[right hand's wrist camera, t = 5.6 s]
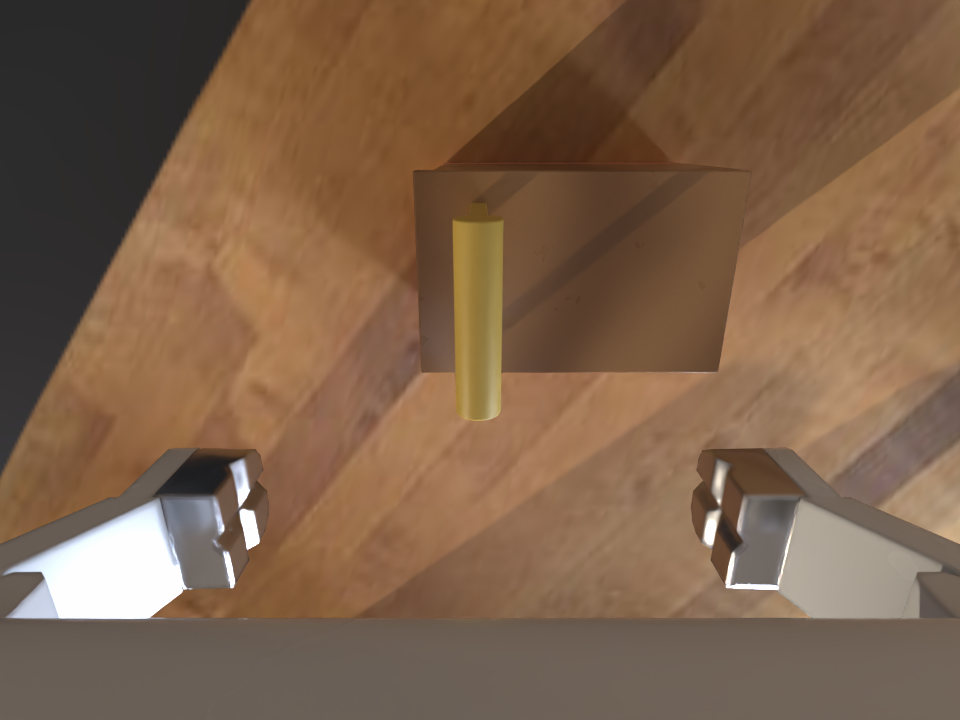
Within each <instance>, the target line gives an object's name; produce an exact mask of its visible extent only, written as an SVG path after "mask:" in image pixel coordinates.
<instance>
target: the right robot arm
mask: <svg viewBox="0 0 960 720" xmlns="http://www.w3.org/2000/svg"><path fill="white" fill-rule="evenodd" d="M262 472H263V466H262V461H261V456H260V454H259V453H258V452H257V450H256V449H221V448H202V449H201V448H174V449H168V450H167V451H166V452H165V453H164V454H163V455H162V456H161V457H160V458H159V459H158V460H157V461H156V462H155V463H154V464H153V465H152V466H151V467H150V468H149V469H148V470H147V471H146V472H145V473H144V474H142V475H141V476H140V477H139V478H138V479H137V480H136V481H135V482H134V483H133V484H132V485H131V486H130V487H129V488H128V489H127V490H126V491H125V492H124V493H123V494H122V495H121V496H120V497H115V498H107V499H105V500H103V501H100V502H98V503H96V504H93V505H91V506H88V507H86V508H84V509H81V510H79V511H77V512H74V513H72V514H70V515H67V516H65V517H63V518H60V519H58V520H56V521H53V522H51V523H49V524H46V525H44V526H42V527H39V528H37V529H35V530H32V531H30V532H28V533H25V534H23V535H21V536H18V537H16V538H14V539H11V540H9V541H7V542H4V543H2V544H0V720H960V544H958V543H956V542H953V541H951V540H949V539H946V538H944V537H942V536H939V535H937V534H934V533H932V532H930V531H927V530H925V529H923V528H920V527H918V526H916V525H913V524H911V523H909V522H906V521H904V520H902V519H899V518H897V517H895V516H892V515H890V514H888V513H885V512H883V511H881V510H878V509H876V508H874V507H871V506H869V505H867V504H864V503H862V502H860V501H857V500H855V499H853V498H845V497H840V496H839V495H838V494H837V493H836V492H835V491H834V490H833V489H832V488H831V487H830V486H829V485H828V484H827V483H826V482H825V481H824V480H823V479H822V478H821V477H820V476H819V475H818V474H817V473H816V472H815V471H814V470H812V469H811V468H810V467H809V466H808V465H807V464H806V463H805V462H804V461H803V460H802V459H801V458H800V457H799V456H798V455H797V454H796V453H795V452H794V451H793V450H791V449H788V448H785V447H784V448H753V449H712V450H702V452H701V454H700V457H699V459H698V465H697V472H698V473H699V475H700V476H701V478H702V479H703V481H702V482H701V483H700V484H699V486H698V487H697V488H696V489H695V490H694V491H693V496H692V504H691V511H692V522H693V525H694V528H695V532H696V534H697V536H698V538H699V540H700V541H701V543H703V544H704V545H706V546H707V547H709V548H711V549H712V556H711V561H712V563H713V565H714V567H715V568H716V570H717V572H718V574H719V575H720V577H721V579H722V581H723V582H724V584H725V586H726V588H749V589H778V590H777V592H779V593H780V594H781V595H782V596H784V597H785V598H786V599H788V600H789V601H790V602H792V603H793V604H794V605H795V606H797V607H798V608H799V609H801V610H802V611H803V612H805V613H806V614H807V615H808V616H810V617H811V618H149V617H150V616H152V615H153V614H154V613H156V612H157V611H158V610H159V609H161V608H162V607H163V606H165V605H166V604H167V603H169V602H170V601H171V600H173V599H174V598H175V597H176V596H178V595H179V594H180V593H182V589H210V588H234V586H235V584H236V583H237V581H238V579H239V577H240V575H241V574H242V572H243V570H244V568H245V567H246V565H247V563H248V561H249V556H248V549H249V548H251V547H253V546H254V545H256V544H257V543H259V541H260V540H261V538H262V536H263V534H264V532H265V529H266V524H267V520H268V516H269V502H268V495H267V491H266V490H265V489H264V488H263V487H262V486H261V485H260V483H259V482H258V481H257V479H258V478H259V476H260V475H261V473H262Z"/></svg>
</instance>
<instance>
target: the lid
mask: <svg viewBox="0 0 960 720" xmlns="http://www.w3.org/2000/svg"><path fill="white" fill-rule="evenodd" d="M751 173H752V171H750V170H415V171H413V187H414V211H415V235H416V258H417V282H418V305H419V329H420V352H421V372H422V373H455V378H456V411H457V413H458V415H459V416H461V417H462V418H465V419H468V420H475V421H482V420H489V419H492V418H494V417H496V416H497V415H499V413H500V411H501V373H717V372H718V368H719V362H720V357H721V351H722V345H723V339H724V333H725V327H726V321H727V315H728V309H729V303H730V297H731V292H732V286H733V280H734V274H735V268H736V262H737V256H738V250H739V244H740V238H741V232H742V227H743V221H744V215H745V209H746V203H747V197H748V191H749V185H750V179H751Z"/></svg>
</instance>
